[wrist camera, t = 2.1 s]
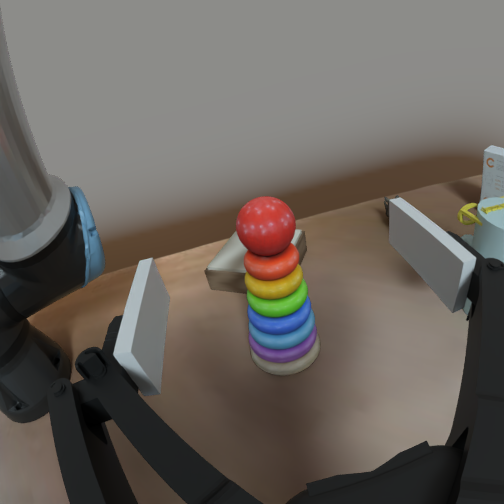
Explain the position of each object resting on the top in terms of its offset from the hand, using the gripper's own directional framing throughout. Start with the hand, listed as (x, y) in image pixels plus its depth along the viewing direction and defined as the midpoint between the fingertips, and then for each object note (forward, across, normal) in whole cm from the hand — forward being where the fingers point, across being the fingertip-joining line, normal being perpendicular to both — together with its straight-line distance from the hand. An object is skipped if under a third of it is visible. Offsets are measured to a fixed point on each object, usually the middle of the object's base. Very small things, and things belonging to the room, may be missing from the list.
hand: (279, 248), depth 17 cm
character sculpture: (+8, +27, -20) cm, 35 cm away
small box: (+26, +49, -20) cm, 59 cm away
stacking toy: (+10, 0, -20) cm, 23 cm away
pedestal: (+28, 0, -20) cm, 34 cm away
